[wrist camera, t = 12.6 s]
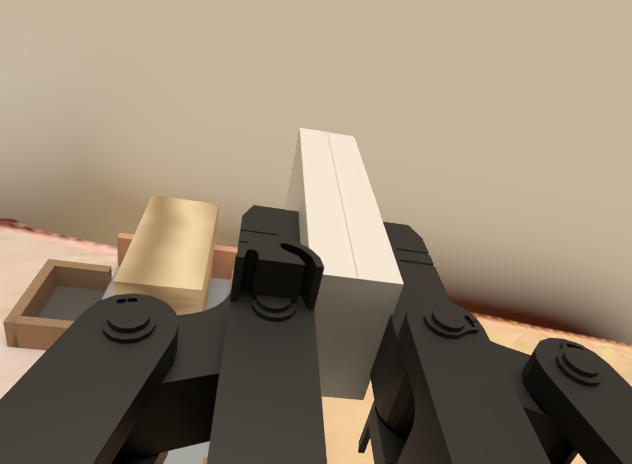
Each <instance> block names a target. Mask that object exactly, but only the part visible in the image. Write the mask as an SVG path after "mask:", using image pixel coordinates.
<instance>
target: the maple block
mask: <svg viewBox="0 0 632 464" xmlns="http://www.w3.org/2000/svg"><path fill="white" fill-rule="evenodd" d="M218 209H219V204H213V203H206V202H199V201H191V200H183V199H175V198H168V197H160V196H152V197H151V200H150V202H149V204H148V206H147V208H146V211H145V213H144V215H143V217H142V220H141V222H140V224H139V226H138V228H137V231H136V233H135V235H134V237H133V239H132V242H131V244H130V246H129V248H128V250H127V253H126V255H125V257H124V259H123V261H122V264H121V266H120V268H119V270H118V272H117V275H116V277H115V279H114V295H121V294H131V293H135V294H143V295H150V296H153V297H155V298H158V299H160V300H162V301H165V302H166V303H167V304H168V305H169V306H170V307H171V308H172V309H173V310H174V311H175V312H176V315H184V314H192V313H197V312H201V311H205V310H206V306H207V300H208V294H209V289H210V283H211V277H212V268H213V258H214V248H215V238H216V228H217V219H218Z"/></svg>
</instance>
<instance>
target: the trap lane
mask: <svg viewBox="0 0 632 464" xmlns="http://www.w3.org/2000/svg"><path fill="white" fill-rule="evenodd" d="M133 237H134V235H133V234H125V233H120V234H119V236H118V268H117V270H116V272H115V274H114V276H113V278H111V266H103V265H94V264H86V263H77V262H69V261H60V260H52V259H48V260H47V262H46V263H45V264H44V266H43V267H42V269H41V270H40V271H39V273H38V274H37V276H36V277H35V278H34V280H33V281H32V283H31V284H30V285H29V287H28V288H27V290H26V291H25V292H24V294H23V295H22V297H21V298H20V299H19V301H18V302H17V304H16V305H15V306H14V308H13V309H12V311H11V312H10V313H9V315H8V316H7V318H6V319H5V320H4V328H5V334H6V339H7V345H8V346H12V347H23V348H34V349H44V350H48V349H49V348H50V347H51V346H52V345H53V344H54V342H55V341H56V340H57V339H58V338H59V337H60V336H61V335H62V334H63V333H64V332H65V331H66V330H67V329H68V328H69V327H70V326H71V325H72V323H73V322H74V321H75V320H76V319H77V318H78V317H79V316H80V315H81V314H82V313H83V312H84V311H85V310H86V309H88V308H89V307H91V306H92V305H93V304H95V303H96V302H97V301H100V300H103V299H106V298H108V297H111V296H114V279H115V277H116V275H117V272H118V270H119V268H120V266H121V264H122V261H123V259H124V257H125V255H126V253H127V250H128V248H129V246H130V244H131V242H132V239H133ZM237 250H238V248H235V247H227V246H219V245H215V248H214V258H213V268H212V277H211V283H210V289H209V294H208V300H207V306H206V310H208V309H210V308H213V307H215V306H217V305H218V304H220V303H221V302H223V301H224V300H225V299H226V297H227V296H228V295H229V294H230V291H231V287H232V279H233V272H234V264H235V256H236V254H237ZM209 443H210V441H209V442H205V443H201V444H196V445H192V446H188V447H184V448H179V449H175V450H171V451H169V452H168V455H167V457H166V459H165V461H164V463H163V464H207V457H208V450H209Z"/></svg>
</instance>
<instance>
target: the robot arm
mask: <svg viewBox="0 0 632 464" xmlns="http://www.w3.org/2000/svg"><path fill="white" fill-rule="evenodd" d="M370 379H371V383H372V388H373V394H374V402H373V405H372V407H371V410H370V413H369V416H368V418H367V421H366V424H365V427H364V429H363V432H362V435H361V438H360V440H359V449H358V453H364V452H365V449H366V447H367V444H368V442H369V439H371V445H372V451H373V457H374V463H375V464H571V462H572V461H573V459H574V458H575V457H576V455H577V454H578V453H579V454H580V456H581V457H582V458H583V459H584V461H585V462H586V463H587V464H632V387H631V386H630V385H629V384H628V383H627V382H626V381H625V380H624V379H623V378H622V377H621V376H620V375H619V374H618V373H617V372H616V371H615V370H614V369H613V368H612V367H611V366H610V365H609V364H608V363H607V362H606V361H604V360H603V359H602V358H601V357H600V356H598V355H597V354H596V353H594V352H593V351H591V350H589V349H587V348H585V347H584V346H582V345H580V344H578V343H575V342H572V341H568V340H565V339H558V338H548V339H545V340H542V341H540V342H539V343H538V345H537V346H536V348H535V350H534V351H533V353H532V355H528V354H525V353H522V352H519V351H516V350H514V349H511V348H508V347H505V346H502V345H499V344H496V343H494V342H492V341H490V340H489V338H488V336H487V334H486V332H485V330H484V328H483V327H482V325H481V324H480V323H479V321H478V320H477V319H476V317H474V316H473V315H472V314H470V313H469V312H468V311H467V310H465V309H464V308H462V307H460V306H458V305H456V304H453V303H451V302H450V300H449V298H448V295H447V293H446V291H445V289H444V286H443V284H442V282H441V280H440V277H439V275H438V273H437V271H436V268H435V267H433V262H432V259H431V257H430V255H428V250H427V248H426V246H425V244H424V241H423V239H422V238H421V237H420V236H419V235H418V234H417V233H416V232H415V231H414V230H413V229H411V227H409V226H408V225H403V224H395V223H388V222H383V221H382V218H381V216H380V212H379V209H378V206H377V203H376V200H375V197H374V194H373V192H372V189H371V186H370V183H369V180H368V177H367V174H366V171H365V168H364V165H363V162H362V159H361V156H360V153H359V150H358V147H357V144H356V141H355V138H354V137H352V136H347V135H341V134H335V133H328V132H323V131H317V130H311V129H305V128H300V129H299V135H298V140H297V146H296V151H295V157H294V163H293V168H292V174H291V179H290V184H289V190H288V196H287V201H286V207H285V210H284V209H276V208H270V207H262V206H256V205H254V206H252V207H251V208H250V209H249V210H248V211H247V212H246V213H245V214H244V215H243V216H242V223H241V230H240V237H239V244H238V250H237V254H236V256H235V264H234V272H233V279H232V287H231V291H230V294H229V295H228V296H227V297H226V299H225V300H224V301H223V302H221V303H220V304H218V305H217V306H215V307H213V308H210V309H208V310H205V311H201V312H197V313H192V314H184V315H176V312H175V311H174V310H173V309H172V308H171V307H170V306H169V305H168V304H167V303H166V302H165V301H162V300H160V299H158V298H155V297H153V296H150V295H143V294H135V293H131V294H121V295H114V296H111V297H108V298H106V299H103V300H100V301H97V302H96V303H95V304H93V305H92V306H91V307H89V308H88V309H86V310H85V311H84V312H83V313H82V314H81V315H80V316H79V317H78V318H77V319H76V320H75V321H74V322H73V323H72V325H71V326H70V327H69V328H68V329H67V330H66V331H65V332H64V333H63V334H62V335H61V336H60V337H59V338H58V339H57V340H56V341H55V342H54V344H53V345H52V346H51V347H50V348H49V349H48V350H47V351H46V352H45V353H44V354H43V355H42V356H41V357H40V358H39V359H38V360H37V361H36V363H35V364H34V365H33V366H32V367H31V368H30V369H29V370H28V371H27V372H26V373H25V374H24V375H23V376H22V377H21V378H20V379H19V380H18V382H17V383H16V384H15V385H14V386H13V387H12V388H11V389H10V390H9V391H8V392H7V393H6V394H5V395H4V396H3V397H2V398H1V399H0V464H163V463H164V461H165V459H166V457H167V455H168V452H169V451H171V450H175V449H179V448H184V447H188V446H192V445H196V444H201V443H205V442H209V441H210V443H209V450H208V457H207V464H327V458H326V446H325V434H324V422H323V410H322V398H321V396H323V397H335V398H346V399H358V400H363V399H364V396H365V394H366V391H367V388H368V385H369V382H370Z"/></svg>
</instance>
